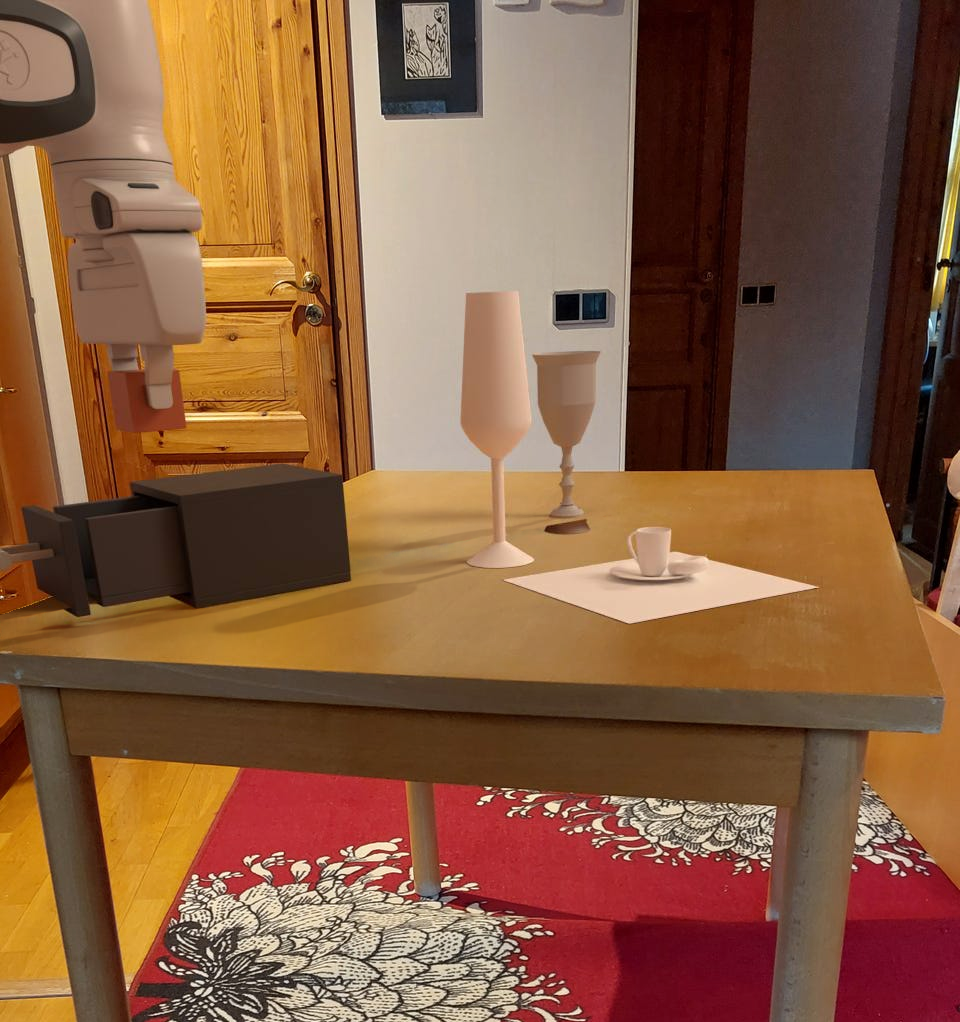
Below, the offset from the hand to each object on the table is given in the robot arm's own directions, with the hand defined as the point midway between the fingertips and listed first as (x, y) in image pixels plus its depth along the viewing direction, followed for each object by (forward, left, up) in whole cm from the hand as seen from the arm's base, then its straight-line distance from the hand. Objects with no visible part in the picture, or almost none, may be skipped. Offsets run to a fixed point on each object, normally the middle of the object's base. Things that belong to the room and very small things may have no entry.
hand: (147, 406), depth 94 cm
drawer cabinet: (+10, +6, -17) cm, 20 cm away
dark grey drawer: (-4, +6, -16) cm, 17 cm away
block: (0, 0, -2) cm, 2 cm away
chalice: (+48, +5, -17) cm, 51 cm away
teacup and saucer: (+37, -21, -17) cm, 45 cm away
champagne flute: (+33, -3, -17) cm, 37 cm away
